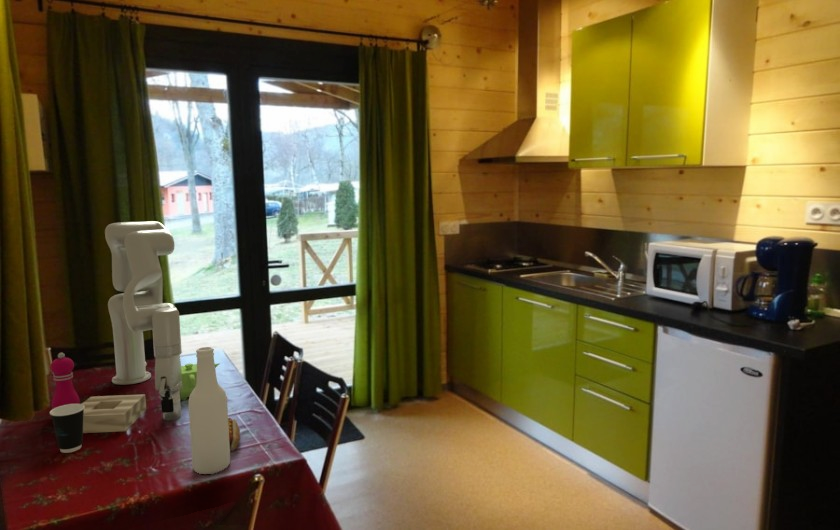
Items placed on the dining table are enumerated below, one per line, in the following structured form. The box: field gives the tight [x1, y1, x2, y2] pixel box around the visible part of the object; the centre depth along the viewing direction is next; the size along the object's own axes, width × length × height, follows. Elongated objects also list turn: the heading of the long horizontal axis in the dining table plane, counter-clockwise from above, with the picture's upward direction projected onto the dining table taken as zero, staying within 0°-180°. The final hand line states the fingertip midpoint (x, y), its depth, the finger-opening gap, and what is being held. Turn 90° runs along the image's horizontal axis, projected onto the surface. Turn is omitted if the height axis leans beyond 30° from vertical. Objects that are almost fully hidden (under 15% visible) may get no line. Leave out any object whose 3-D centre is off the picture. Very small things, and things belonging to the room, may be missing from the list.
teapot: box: [180, 362, 221, 401], centre depth 192 cm, size 15×13×11 cm
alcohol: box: [187, 346, 231, 475], centre depth 140 cm, size 9×9×30 cm
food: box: [228, 417, 241, 452], centre depth 156 cm, size 14×6×5 cm, turn 19°
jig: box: [81, 393, 147, 434], centre depth 170 cm, size 16×16×5 cm
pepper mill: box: [50, 352, 81, 409], centre depth 173 cm, size 7×7×20 cm
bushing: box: [157, 381, 183, 421], centre depth 173 cm, size 7×7×10 cm
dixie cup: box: [49, 403, 85, 454], centre depth 152 cm, size 8×8×11 cm
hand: (171, 407), depth 173 cm, fingers open, 6 cm apart
